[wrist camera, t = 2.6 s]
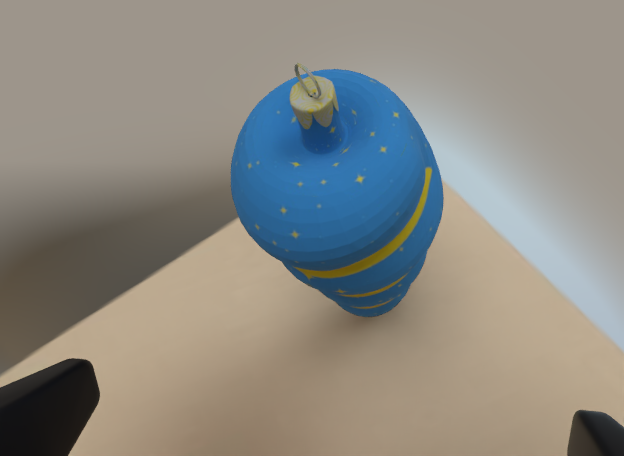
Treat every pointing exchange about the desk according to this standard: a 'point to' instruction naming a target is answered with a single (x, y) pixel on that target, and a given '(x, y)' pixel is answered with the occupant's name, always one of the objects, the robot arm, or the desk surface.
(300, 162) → the ornament
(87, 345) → the desk surface
